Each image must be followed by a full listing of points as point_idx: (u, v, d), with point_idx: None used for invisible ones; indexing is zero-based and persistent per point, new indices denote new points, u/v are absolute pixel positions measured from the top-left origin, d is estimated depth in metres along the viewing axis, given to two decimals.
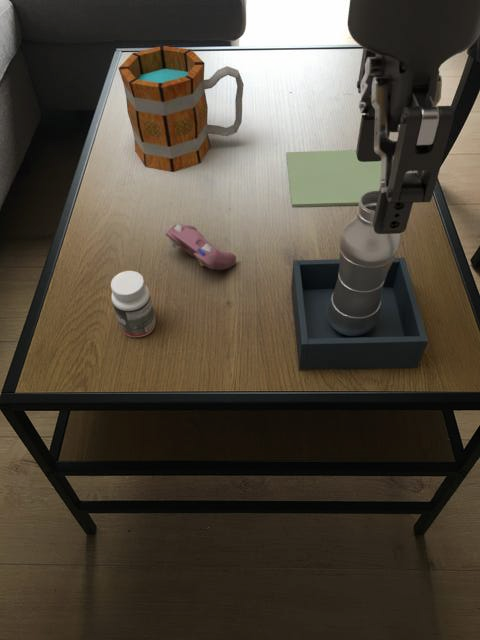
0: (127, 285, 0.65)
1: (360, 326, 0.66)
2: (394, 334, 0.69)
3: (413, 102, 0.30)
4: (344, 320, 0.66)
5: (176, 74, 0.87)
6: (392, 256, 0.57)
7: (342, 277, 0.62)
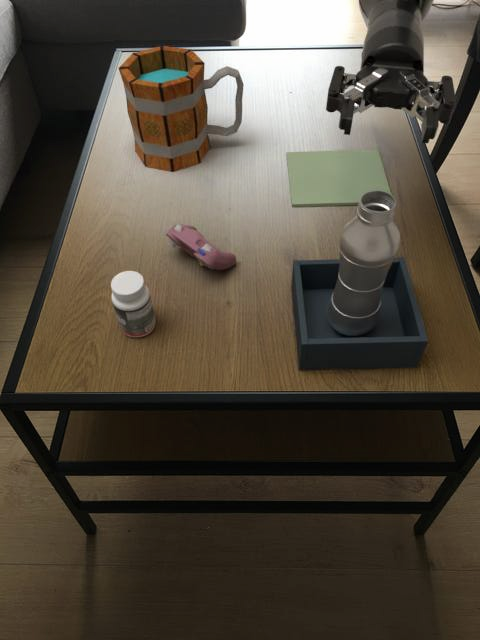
0: (127, 285, 0.65)
1: (360, 326, 0.66)
2: (394, 334, 0.69)
3: None
4: (344, 320, 0.66)
5: (176, 74, 0.87)
6: (392, 256, 0.57)
7: (342, 277, 0.62)
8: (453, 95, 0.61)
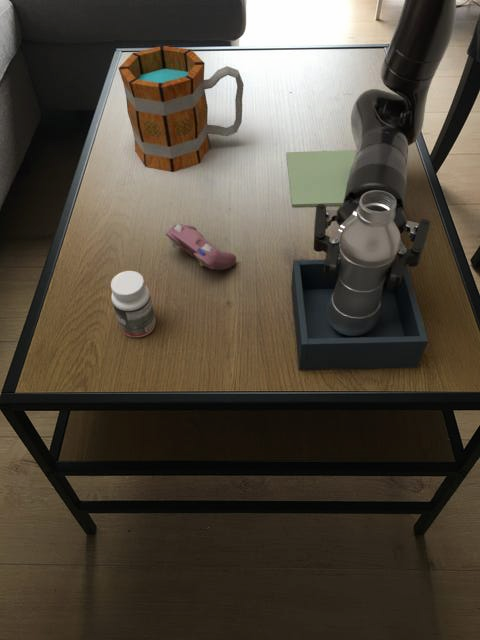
0: (127, 285, 0.65)
1: (360, 326, 0.66)
2: (394, 334, 0.69)
3: None
4: (344, 320, 0.66)
5: (176, 74, 0.87)
6: (392, 256, 0.57)
7: (342, 277, 0.62)
8: (423, 242, 0.62)
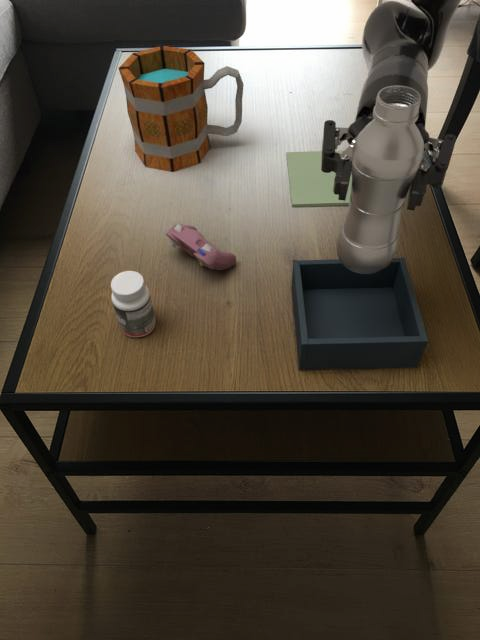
0: (127, 285, 0.65)
1: (374, 259, 0.57)
2: (394, 334, 0.69)
3: None
4: (356, 252, 0.57)
5: (176, 74, 0.87)
6: (414, 167, 0.49)
7: (355, 198, 0.53)
8: (449, 157, 0.53)
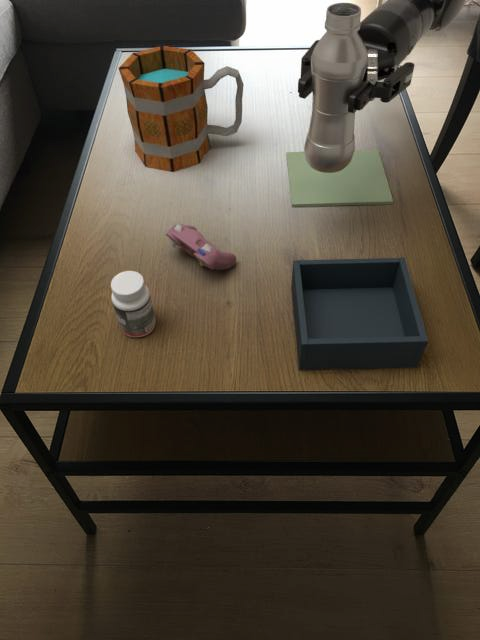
0: (127, 285, 0.65)
1: (326, 158, 0.70)
2: (394, 334, 0.69)
3: None
4: (313, 149, 0.70)
5: (176, 74, 0.87)
6: (352, 72, 0.61)
7: (312, 98, 0.66)
8: (397, 77, 0.64)
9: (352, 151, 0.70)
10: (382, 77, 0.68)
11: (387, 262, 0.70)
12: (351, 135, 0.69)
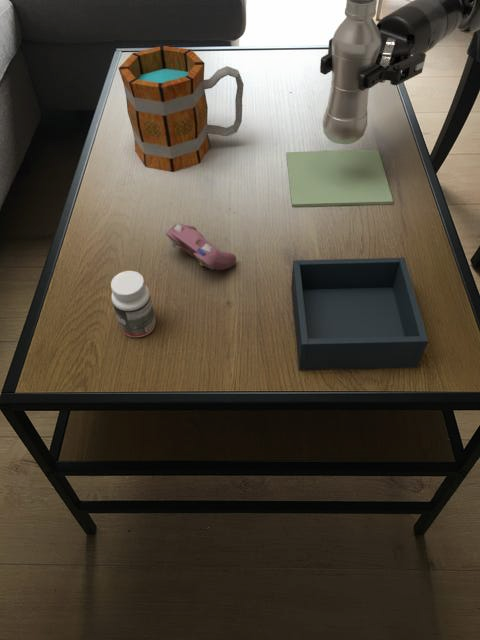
0: (127, 285, 0.65)
1: (339, 129, 0.80)
2: (394, 334, 0.69)
3: None
4: (328, 120, 0.80)
5: (176, 74, 0.87)
6: (364, 54, 0.71)
7: None
8: (406, 64, 0.73)
9: (363, 127, 0.80)
10: None
11: (387, 262, 0.70)
12: (363, 112, 0.78)
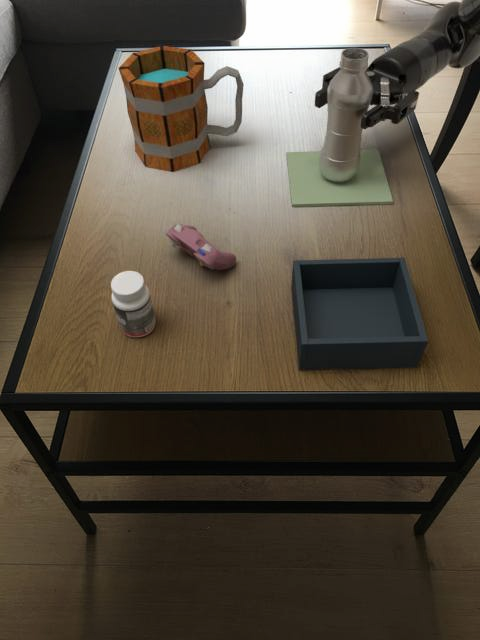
0: (127, 285, 0.65)
1: (334, 169, 0.85)
2: (394, 334, 0.69)
3: None
4: (324, 160, 0.86)
5: (176, 74, 0.87)
6: (357, 103, 0.76)
7: (327, 119, 0.82)
8: (405, 103, 0.78)
9: (356, 166, 0.86)
10: (390, 102, 0.82)
11: (387, 262, 0.70)
12: (356, 153, 0.84)
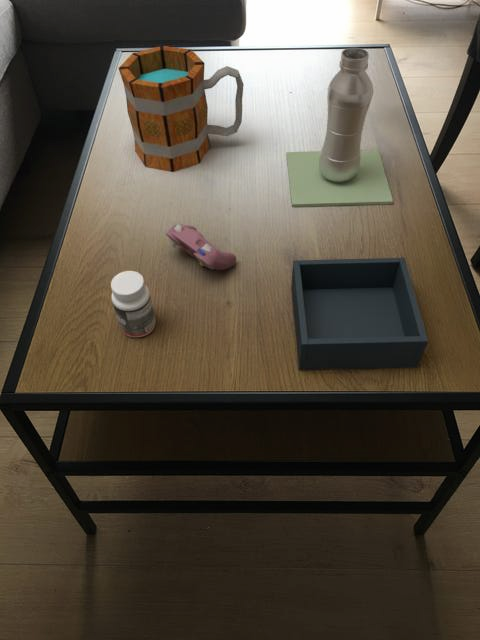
0: (127, 285, 0.65)
1: (334, 169, 0.85)
2: (394, 334, 0.69)
3: None
4: (324, 160, 0.86)
5: (176, 74, 0.87)
6: (357, 103, 0.76)
7: (327, 119, 0.82)
8: None
9: (356, 166, 0.86)
10: None
11: (387, 262, 0.70)
12: (356, 153, 0.84)
